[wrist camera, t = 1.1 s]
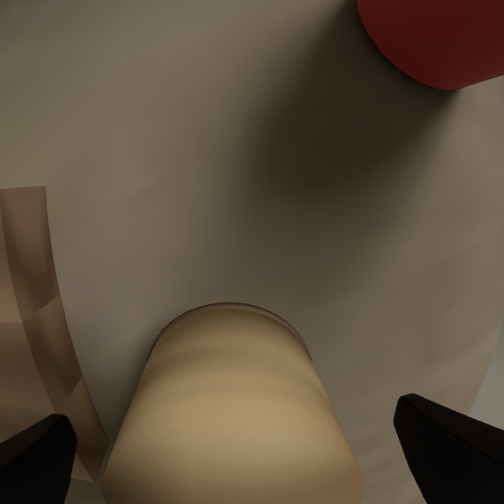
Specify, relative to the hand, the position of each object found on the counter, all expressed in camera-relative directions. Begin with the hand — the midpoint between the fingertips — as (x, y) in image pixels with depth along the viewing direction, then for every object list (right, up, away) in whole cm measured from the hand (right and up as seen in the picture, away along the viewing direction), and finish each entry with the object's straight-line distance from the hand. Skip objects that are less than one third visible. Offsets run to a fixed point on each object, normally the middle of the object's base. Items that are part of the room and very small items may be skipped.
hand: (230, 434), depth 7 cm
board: (-13, 0, +4) cm, 14 cm away
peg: (0, +1, +5) cm, 5 cm away
